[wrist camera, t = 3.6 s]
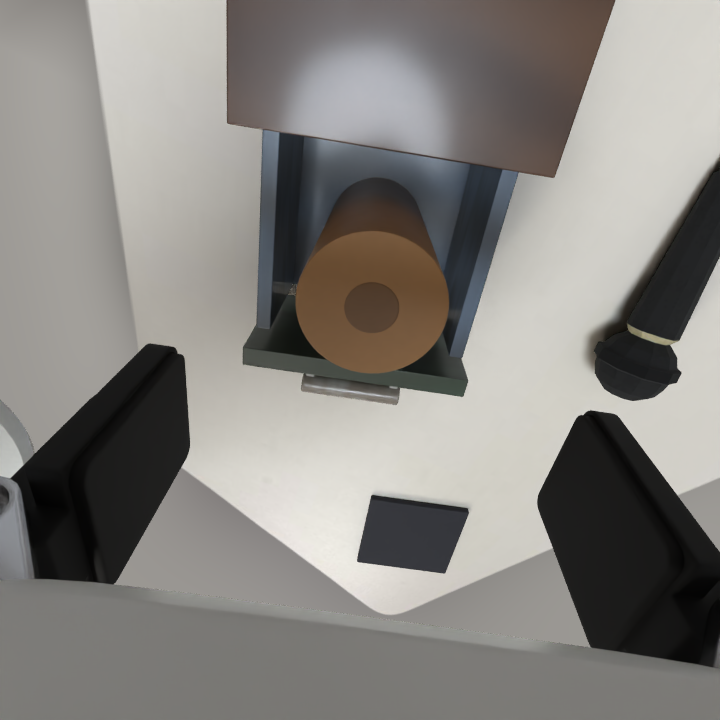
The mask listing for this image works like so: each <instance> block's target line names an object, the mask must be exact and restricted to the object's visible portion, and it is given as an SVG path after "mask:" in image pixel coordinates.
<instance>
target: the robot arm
mask: <svg viewBox="0 0 720 720" xmlns="http://www.w3.org/2000/svg"><path fill="white" fill-rule="evenodd" d="M189 448H190V435H189V419H188V404H187V388H186V373H185V360H184V356H183V355H181V354H178V353H177V350H176V348H174V347H170V346H163V345H157V344H147V345H146V346H144V347H143V348H142V349H141V350H140V351H139V352H138V353H137V354H136V356H134V358H133V359H132V360H130V361H129V362H128V363H127V364H126V365H125V366H124V368H122V369H121V370H120V371H119V372H118V373H117V375H115V376H114V377H113V378H112V379H111V380H110V381H109V382H108V383H107V384H106V385H105V386H104V387H103V388H102V389H101V390H100V391H99V392H98V394H96V395H95V396H94V397H92V398H91V399H90V400H89V401H88V402H87V403H86V404H85V405H84V406H83V407H82V408H81V409H80V410H79V411H78V412H77V413H76V414H75V415H74V416H73V417H72V418H71V419H70V420H69V421H68V422H67V423H65V425H63V427H61V429H60V430H59V431H57V432H56V433H55V434H54V435H53V436H52V437H51V438H50V440H48V441H47V442H46V443H45V444H44V445H43V446H42V447H41V448H40V449H39V450H38V451H37V452H36V453H35V454H34V455H33V456H32V457H31V458H30V459H29V460H28V461H27V462H26V463H25V464H24V465H23V466H22V467H21V468H20V469H19V470H18V471H17V472H16V473H15V474H14V475H13V476H12V477H11V478H7V477H2V476H0V720H720V552H719V551H718V549H717V548H716V547H715V545H714V544H713V543H712V541H711V540H710V539H709V537H708V536H707V535H706V533H705V532H704V531H703V529H702V528H701V527H700V525H699V524H698V523H697V521H696V520H695V519H694V518H693V516H692V514H691V513H690V512H689V510H688V509H687V508H686V507H685V505H684V504H683V503H682V501H681V500H680V498H679V497H678V496H677V494H676V493H675V492H674V490H673V489H672V488H671V486H670V485H669V484H668V482H667V481H666V480H665V478H664V477H663V476H662V474H661V473H660V472H659V470H658V469H657V468H656V466H655V465H654V464H653V462H652V461H651V460H650V458H649V457H648V456H647V454H646V453H645V452H644V450H643V449H642V448H641V446H640V445H639V444H638V442H637V441H636V440H635V438H634V437H633V436H632V434H631V433H630V432H629V430H628V429H627V428H626V426H625V425H624V424H623V422H622V421H621V420H620V418H619V417H618V416H617V415H615V414H611V413H604V412H598V411H587V412H586V413H585V414H584V415H580V416H578V417H577V419H576V420H575V422H574V424H573V426H572V428H571V430H570V432H569V434H568V436H567V438H566V440H565V442H564V444H563V446H562V448H561V450H560V452H559V454H558V456H557V458H556V460H555V462H554V464H553V466H552V468H551V470H550V472H549V474H548V476H547V478H546V480H545V482H544V484H543V486H542V488H541V490H540V492H539V495H538V500H537V504H538V509H539V512H540V515H541V518H542V520H543V523H544V526H545V528H546V531H547V534H548V536H549V539H550V541H551V544H552V547H553V549H554V552H555V555H556V557H557V560H558V563H559V565H560V568H561V570H562V573H563V576H564V579H565V581H566V584H567V586H568V589H569V592H570V594H571V597H572V600H573V602H574V605H575V608H576V610H577V613H578V616H579V618H580V621H581V624H582V626H583V629H584V632H585V634H586V637H587V639H588V642H589V644H590V646H591V648H589V647H582V646H575V645H567V644H561V643H554V642H546V641H540V640H533V639H526V638H519V637H512V636H504V635H497V634H491V633H483V632H476V631H468V630H461V629H454V628H447V627H440V626H433V625H425V624H417V623H411V622H403V621H396V620H388V619H380V618H374V617H366V616H359V615H352V614H344V613H337V612H329V611H322V610H314V609H307V608H299V607H292V606H284V605H276V604H269V603H261V602H253V601H245V600H238V599H230V598H222V597H214V596H206V595H200V594H192V593H184V592H176V591H167V590H158V589H149V588H140V587H131V586H122V585H114V583H115V582H116V581H117V579H118V578H119V576H120V574H121V572H122V571H123V569H124V567H125V565H126V564H127V562H128V560H129V558H130V557H131V555H132V553H133V551H134V549H135V548H136V546H137V544H138V543H139V541H140V539H141V537H142V536H143V534H144V532H145V530H146V528H147V527H148V525H149V523H150V521H151V520H152V518H153V516H154V514H155V513H156V511H157V509H158V507H159V505H160V504H161V502H162V500H163V498H164V497H165V495H166V493H167V491H168V490H169V488H170V486H171V484H172V483H173V481H174V479H175V477H176V476H177V474H178V472H179V470H180V469H181V467H182V465H183V463H184V461H185V460H186V458H187V455H188V452H189Z"/></svg>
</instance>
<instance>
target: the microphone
mask: <svg viewBox="0 0 720 720" xmlns="http://www.w3.org/2000/svg"><path fill="white" fill-rule="evenodd" d="M719 257H720V169H719V170H718V171H717V172H714V173H713V174H712V176H711V178H710V180H709V181H708V183H707V185H706V186H705V188H704V190H703V192H702V193H701V195H700V197H699V198H698V200H697V202H696V204H695V205H694V207H693V209H692V211H691V212H690V214H689V216H688V217H687V219H686V221H685V223H684V224H683V226H682V228H681V229H680V231H679V233H678V235H677V236H676V238H675V240H674V241H673V243H672V245H671V247H670V248H669V250H668V252H667V254H666V255H665V257H664V259H663V260H662V262H661V264H660V266H659V267H658V269H657V271H656V272H655V274H654V276H653V278H652V279H651V281H650V283H649V284H648V286H647V288H646V290H645V291H644V293H643V295H642V297H641V298H640V300H639V302H638V303H637V305H636V307H635V309H634V310H633V312H632V314H631V315H630V317H629V319H628V321H627V322H626V323H627V326H628V331H625V332H621V333H618V334H615V335H613V336H611V337H610V338H609V339H608V340H606V341H603V342H598V344H597V346H596V348H595V350H594V352H595V354H596V355H597V358H596V362H595V374H596V376H597V378H598V380H599V381H600V383H601V384H602V386H603V388H604V389H605V390H607V391H608V392H610V393H611V394H613V395H616V396H618V397H620V398H623V399H627V400H631V401H636V400H643V399H649V398H653V397H655V396H656V395H658V394H659V393H661V392H662V391H663V390H664V389H665V388H666V387H667V386H668V385H669V384H673V383H677V381H678V379H679V377H680V375H681V372H680V371H679V370H678V369H677V357H676V355H675V353H674V352H673V350H672V348H671V346H670V345H671V344H673V343H675V342H677V341H679V340H680V338H681V336H682V334H683V332H684V330H685V328H686V326H687V324H688V321H689V319H690V317H691V315H692V313H693V311H694V309H695V307H696V305H697V303H698V301H699V299H700V297H701V294H702V292H703V290H704V288H705V286H706V284H707V282H708V280H709V278H710V276H711V274H712V272H713V270H714V267H715V265H716V263H717V261H718V259H719Z"/></svg>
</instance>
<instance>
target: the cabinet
mask: <svg viewBox="0 0 720 720" xmlns="http://www.w3.org/2000/svg"><path fill="white" fill-rule="evenodd" d="M614 3H615V0H227V123H228V124H232V125H238V126H244V127H250V128H256V129H262V130H268V131H274V132H280V133H286V134H292V135H298V136H304V137H310V138H316V139H322V140H328V141H334V142H340V143H346V144H352V145H358V146H364V147H370V148H376V149H382V150H388V151H394V152H400V153H406V154H412V155H418V156H424V157H430V158H436V159H442V160H448V161H454V162H460V163H466V164H472V165H478V166H484V167H490V168H496V169H502V170H508V171H514V172H520V173H526V174H532V175H538V176H544V177H550V178H554V177H555V174H556V171H557V169H558V166H559V163H560V160H561V157H562V154H563V151H564V148H565V145H566V142H567V139H568V137H569V134H570V131H571V128H572V125H573V122H574V119H575V116H576V113H577V110H578V107H579V105H580V102H581V99H582V96H583V93H584V90H585V87H586V84H587V81H588V78H589V75H590V73H591V70H592V67H593V64H594V61H595V58H596V55H597V52H598V49H599V46H600V43H601V41H602V38H603V35H604V32H605V29H606V26H607V23H608V20H609V17H610V14H611V11H612V9H613V6H614Z"/></svg>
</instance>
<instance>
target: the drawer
mask: <svg viewBox="0 0 720 720" xmlns="http://www.w3.org/2000/svg"><path fill="white" fill-rule="evenodd" d="M518 173H519V172H514V171H508V170H502V169H496V168H490V167H484V166H478V165H472V164H466V163H460V162H454V161H448V160H442V159H436V158H430V157H424V156H418V155H412V154H406V153H400V152H394V151H388V150H382V149H376V148H370V147H364V146H358V145H352V144H346V143H340V142H334V141H328V140H322V139H316V138H310V137H304V136H298V135H292V134H286V133H280V132H274V131H268V130H263V137H262V169H261V201H260V232H259V264H258V295H257V324H256V326H255V328H254V329H253V331H252V333H251V335H250V336H249V338H248V340H247V342H246V343H245V345H244V347H243V364H244V365H250V366H257V367H264V368H271V369H278V370H284V371H291V372H298V373H304V374H303V379H302V385H301V391H303V392H310V393H317V394H324V395H331V396H338V397H345V398H351V399H358V400H365V401H372V402H379V403H386V404H393V405H397V403H398V400H399V393H400V388H407V389H413V390H420V391H427V392H434V393H441V394H447V395H454V396H461V397H463V396H464V393H465V390H466V386H467V383H468V378H467V375H466V372H465V369H464V366H463V363H462V359H461V358H462V357H463V354H464V350H465V347H466V344H467V340H468V337H469V334H470V331H471V327H472V324H473V321H474V317H475V314H476V311H477V308H478V304H479V301H480V298H481V294H482V291H483V288H484V285H485V281H486V278H487V275H488V271H489V268H490V265H491V261H492V258H493V255H494V252H495V248H496V245H497V242H498V238H499V235H500V232H501V229H502V225H503V222H504V219H505V215H506V212H507V209H508V206H509V202H510V199H511V196H512V192H513V189H514V186H515V183H516V179H517V176H518ZM375 177H378V178H386V179H390V180H392V181H395V182H397V183H399V184H400V185H402V186H403V187H404V188H406V189H407V190H408V191H409V192H410V194H411V195H412V196H413V198H414V199H415V201H416V203H417V205H418V208H419V210H420V213H421V216H422V218H423V221H424V224H425V226H426V229H427V232H428V235H429V237H430V240H431V243H432V245H433V248H434V251H435V253H436V256H437V259H438V261H439V264H440V267H441V270H442V272H443V275H444V278H445V280H446V284H447V288H448V293H449V311H448V316H447V321H446V324H445V326H444V329H443V331H442V333H441V335H440V337H439V338H438V340H437V341H436V343H435V344H434V345H433V346H432V347H431V349H430V350H429V351H428V352H427V353H426V354H424V355H423V356H422V357H421V358H419V359H418V360H416V361H415V362H413V363H411V364H410V365H408V366H406V367H403V368H400V369H398V370H394V371H390V372H384V373H360V372H355V371H351V370H348V369H345V368H342V367H340V366H338V365H335V364H334V363H332V362H330V361H329V360H327V359H326V358H324V357H323V356H322V355H320V354H319V353H318V352H317V351H316V350H315V349H314V348H313V347H312V345H311V344H310V343H309V341H308V340H307V338H306V337H305V335H304V333H303V332H302V329H301V327H300V325H299V321H298V318H297V313H296V306H295V303H296V296H294V295H288V293H289V291H290V289H291V287H292V285H293V284H298V282H299V278H300V276H301V274H302V272H303V270H304V267H305V265H306V263H307V261H308V259H309V257H310V255H311V253H312V251H313V249H314V247H315V245H316V243H317V241H318V239H319V237H320V235H321V232H322V230H323V228H324V226H325V224H326V222H327V220H328V218H329V216H330V214H331V212H332V210H333V208H334V206H335V204H336V202H337V200H338V198H339V197H340V195H341V194H342V193H343V192H344V191H345V190H346V189H347V188H348V187H349V186H351V185H352V184H354V183H356V182H358V181H360V180H363V179H367V178H375ZM399 387H400V388H399Z"/></svg>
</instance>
